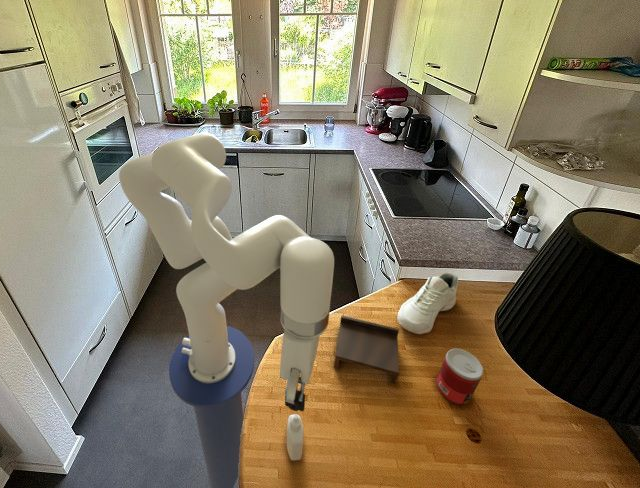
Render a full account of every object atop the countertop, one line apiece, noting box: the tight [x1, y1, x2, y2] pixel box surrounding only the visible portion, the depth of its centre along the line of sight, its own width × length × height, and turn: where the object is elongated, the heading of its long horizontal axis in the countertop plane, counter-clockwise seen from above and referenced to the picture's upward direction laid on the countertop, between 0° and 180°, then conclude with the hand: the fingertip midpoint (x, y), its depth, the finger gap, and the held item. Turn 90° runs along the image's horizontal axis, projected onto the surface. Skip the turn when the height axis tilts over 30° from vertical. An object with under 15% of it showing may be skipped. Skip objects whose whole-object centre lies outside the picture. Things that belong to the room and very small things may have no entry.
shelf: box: [333, 315, 400, 385], centre depth 89 cm, size 16×12×7 cm
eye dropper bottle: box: [286, 413, 305, 461], centre depth 69 cm, size 4×6×12 cm
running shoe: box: [396, 272, 459, 335], centre depth 101 cm, size 11×27×14 cm, turn 130°
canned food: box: [436, 348, 484, 405], centre depth 80 cm, size 8×8×11 cm
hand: (301, 379), depth 58 cm, fingers open, 9 cm apart
